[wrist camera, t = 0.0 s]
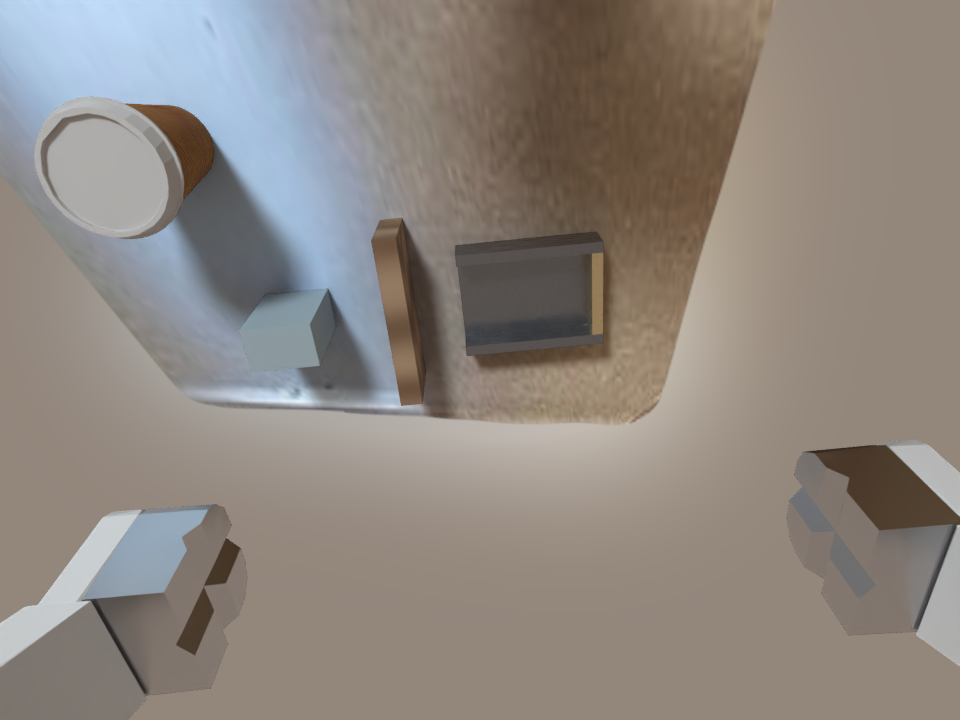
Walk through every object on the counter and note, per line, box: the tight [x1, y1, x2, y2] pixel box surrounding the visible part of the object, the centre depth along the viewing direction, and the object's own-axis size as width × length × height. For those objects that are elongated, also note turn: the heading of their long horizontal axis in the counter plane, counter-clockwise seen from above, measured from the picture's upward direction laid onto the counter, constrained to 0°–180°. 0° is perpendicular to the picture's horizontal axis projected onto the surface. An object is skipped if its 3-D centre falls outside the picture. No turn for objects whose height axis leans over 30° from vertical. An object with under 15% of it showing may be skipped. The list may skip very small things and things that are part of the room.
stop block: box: [239, 288, 337, 372], centre depth 56 cm, size 4×6×8 cm, turn 95°
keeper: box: [455, 232, 603, 356], centre depth 57 cm, size 10×13×3 cm
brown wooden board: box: [371, 218, 426, 406], centre depth 56 cm, size 16×2×6 cm, turn 5°
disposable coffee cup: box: [34, 97, 214, 239], centre depth 46 cm, size 10×10×12 cm
